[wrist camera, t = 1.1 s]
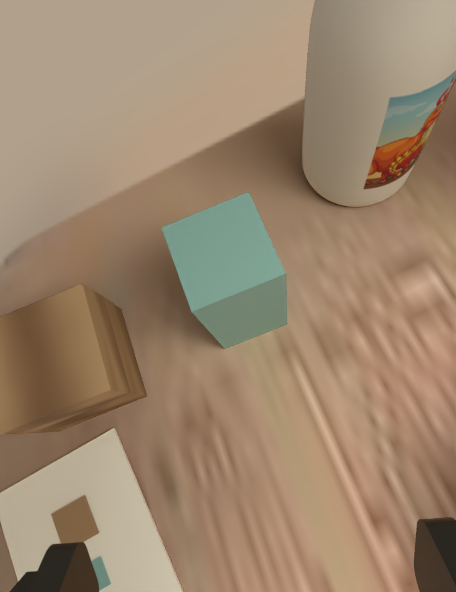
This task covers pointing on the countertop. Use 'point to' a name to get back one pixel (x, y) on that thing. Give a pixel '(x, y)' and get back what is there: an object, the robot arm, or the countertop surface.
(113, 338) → the tower base
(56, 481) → the page
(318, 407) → the countertop surface
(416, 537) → the robot arm
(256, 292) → the teal brick
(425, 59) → the milk bottle
